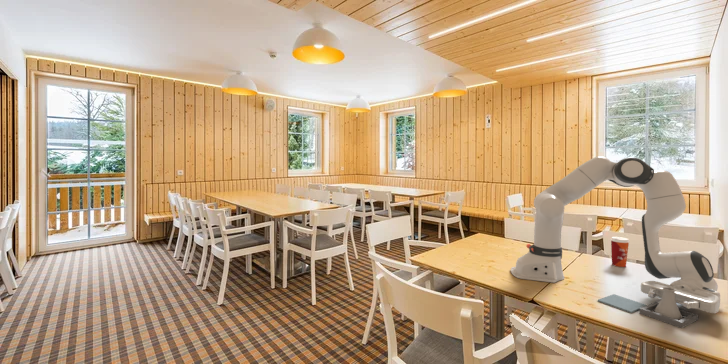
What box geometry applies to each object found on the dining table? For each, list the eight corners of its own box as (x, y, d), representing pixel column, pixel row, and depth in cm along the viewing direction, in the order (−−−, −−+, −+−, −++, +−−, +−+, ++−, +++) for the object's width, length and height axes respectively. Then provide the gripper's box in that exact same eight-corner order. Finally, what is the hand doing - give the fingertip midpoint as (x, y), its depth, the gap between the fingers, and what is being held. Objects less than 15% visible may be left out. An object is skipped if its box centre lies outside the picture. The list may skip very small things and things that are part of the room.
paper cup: (622, 268, 160) (624, 240, 159) (606, 264, 167) (607, 237, 166) (632, 266, 163) (633, 238, 162) (615, 262, 170) (616, 235, 169)
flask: (670, 312, 116) (672, 284, 115) (688, 322, 109) (690, 293, 108) (648, 311, 117) (649, 284, 116) (665, 321, 109) (666, 292, 109)
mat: (631, 313, 115) (631, 311, 115) (597, 301, 125) (597, 299, 125) (647, 306, 120) (647, 305, 120) (613, 295, 130) (613, 294, 130)
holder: (681, 328, 105) (682, 322, 105) (639, 313, 115) (639, 308, 115) (697, 319, 110) (697, 314, 110) (655, 306, 120) (655, 301, 120)
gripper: (651, 274, 127) (632, 281, 121) (726, 294, 109) (708, 302, 103) (650, 290, 127) (631, 297, 121) (725, 312, 109) (707, 322, 103)
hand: (667, 300), depth 112 cm, fingers open, 8 cm apart
